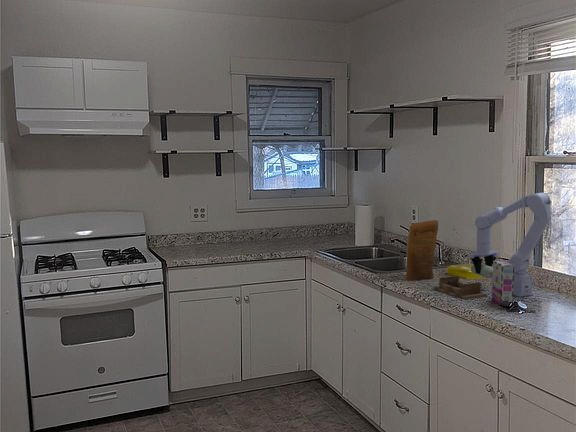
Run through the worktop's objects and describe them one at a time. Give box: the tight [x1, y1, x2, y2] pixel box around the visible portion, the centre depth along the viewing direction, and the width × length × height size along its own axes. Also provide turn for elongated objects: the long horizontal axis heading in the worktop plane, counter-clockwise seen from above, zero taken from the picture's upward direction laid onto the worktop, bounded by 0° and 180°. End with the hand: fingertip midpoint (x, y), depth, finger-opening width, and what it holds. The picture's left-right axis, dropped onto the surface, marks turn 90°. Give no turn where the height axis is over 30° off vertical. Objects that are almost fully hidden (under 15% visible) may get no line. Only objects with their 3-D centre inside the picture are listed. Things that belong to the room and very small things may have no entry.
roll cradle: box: [433, 275, 488, 300], centre depth 246 cm, size 20×12×6 cm, turn 22°
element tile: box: [446, 262, 485, 280], centre depth 282 cm, size 15×15×5 cm
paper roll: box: [471, 263, 493, 279], centre depth 254 cm, size 10×5×5 cm, turn 22°
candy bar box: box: [491, 260, 514, 306], centre depth 228 cm, size 11×5×16 cm, turn 178°
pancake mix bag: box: [405, 219, 439, 282], centre depth 272 cm, size 7×19×28 cm, turn 115°
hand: (483, 272), depth 254 cm, fingers closed on paper roll, 5 cm apart
